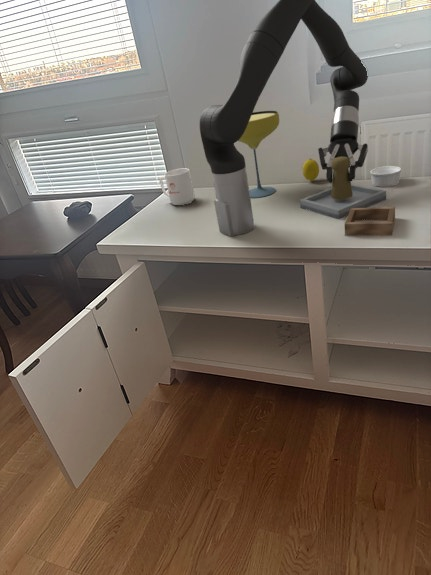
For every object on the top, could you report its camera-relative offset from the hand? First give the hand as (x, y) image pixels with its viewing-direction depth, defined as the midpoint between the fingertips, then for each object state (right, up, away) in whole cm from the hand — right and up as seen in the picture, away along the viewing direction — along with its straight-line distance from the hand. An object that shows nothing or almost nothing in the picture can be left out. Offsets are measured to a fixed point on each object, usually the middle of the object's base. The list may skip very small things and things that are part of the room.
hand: (340, 180), depth 121 cm
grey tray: (+2, -6, +5) cm, 8 cm away
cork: (+2, -4, +4) cm, 6 cm away
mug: (-48, +1, +35) cm, 59 cm away
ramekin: (+18, +2, +14) cm, 23 cm away
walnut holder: (+4, -15, -12) cm, 20 cm away
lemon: (-2, +7, +29) cm, 29 cm away
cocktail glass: (-20, +3, +28) cm, 34 cm away
